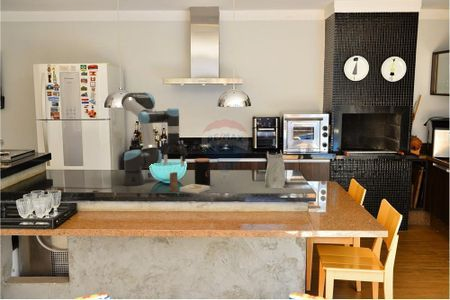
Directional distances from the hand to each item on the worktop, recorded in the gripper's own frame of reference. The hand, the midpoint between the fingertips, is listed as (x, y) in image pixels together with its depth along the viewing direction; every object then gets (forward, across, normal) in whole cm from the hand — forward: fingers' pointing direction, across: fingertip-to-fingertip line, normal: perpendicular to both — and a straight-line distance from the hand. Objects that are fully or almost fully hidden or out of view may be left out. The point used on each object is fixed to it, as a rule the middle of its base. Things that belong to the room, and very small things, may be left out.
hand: (174, 165), depth 283 cm
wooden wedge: (+17, 0, 0) cm, 17 cm away
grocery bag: (+17, +46, +55) cm, 73 cm away
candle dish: (+17, +11, +7) cm, 21 cm away
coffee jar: (+17, +6, +23) cm, 30 cm away
